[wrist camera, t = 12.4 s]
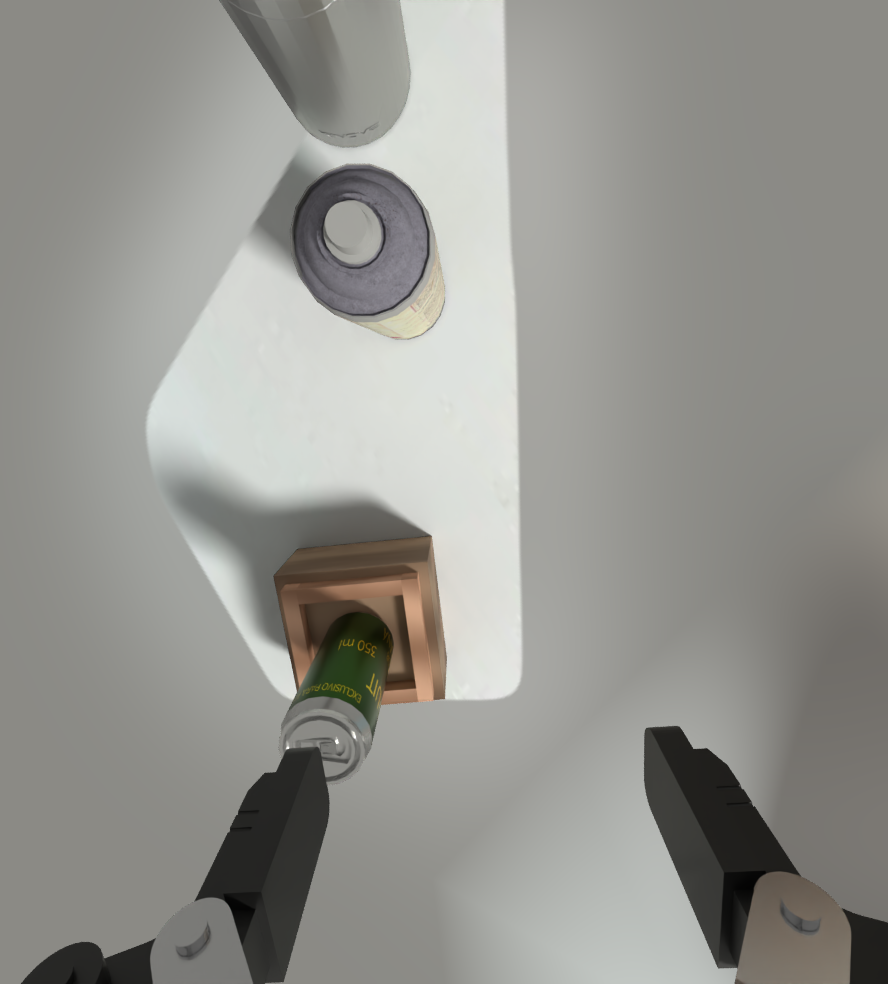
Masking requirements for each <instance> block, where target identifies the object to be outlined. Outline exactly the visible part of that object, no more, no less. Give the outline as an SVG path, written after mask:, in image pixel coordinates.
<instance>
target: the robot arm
mask: <svg viewBox="0 0 888 984" xmlns="http://www.w3.org/2000/svg"><path fill="white" fill-rule="evenodd" d="M219 1H220V2H221V3H222V5H223V7H224V8H225V9H226V11H227V13H228V14H229V16H230V17H231V19H232V20H233V22H234V23H235V25H236V26H237V28H238V29H239V31H240V33H241V34H242V36H243V37H244V39H245V40H246V42H247V43H248V45H249V46H250V48H251V49H252V51H253V52H254V54H255V55H256V57H257V59H258V60H259V61H260V63H261V64H262V66H263V68H264V69H265V70H266V72H267V74H268V75H269V77H270V78H271V80H272V81H273V83H274V85H275V86H276V88H277V89H278V91H279V92H280V94H281V95H282V97H283V98H284V100H285V102H286V103H287V105H288V106H289V108H290V109H291V111H292V112H293V114H294V115H295V117H296V118H297V120H298V121H299V122H300V123H301V124H302V125H303V126H304V128H305V129H306V130H307V131H308V132H310V133H311V134H312V135H313V136H315V137H316V138H317V139H319V140H321V141H323V142H325V143H327V144H330V145H334V146H338V147H358V146H362V145H366V144H369V143H371V142H373V141H375V140H377V139H378V138H380V137H381V136H383V135H384V134H385V133H386V132H387V131H388V130H389V129H391V127H392V126H393V125H394V123H395V122H396V121H397V119H398V118H399V116H400V114H401V112H402V110H403V108H404V106H405V104H406V100H407V96H408V92H409V88H410V64H409V55H408V49H407V43H406V37H405V31H404V24H403V17H402V11H401V5H400V0H219ZM644 738H645V739H644V745H645V746H644V782H645V789H646V795H647V799H648V803H649V806H650V808H651V811H652V814H653V816H654V818H655V821H656V823H657V825H658V828H659V830H660V833H661V835H662V837H663V839H664V842H665V844H666V847H667V849H668V851H669V854H670V856H671V858H672V861H673V863H674V865H675V868H676V870H677V873H678V875H679V877H680V880H681V882H682V884H683V886H684V889H685V891H686V894H687V896H688V898H689V901H690V903H691V906H692V908H693V910H694V912H695V915H696V917H697V920H698V922H699V924H700V927H701V929H702V931H703V934H704V936H705V938H706V941H707V943H708V946H709V948H710V950H711V953H712V955H713V957H714V960H715V962H716V965H717V967H718V968H737V969H738V970H737V974H736V979H735V984H888V923H887V922H884V921H880V920H876V919H872V918H868V917H864V916H861V915H857V914H855V913H852V912H849V911H847V910H845V909H842V908H841V907H840V906H839V905H838V904H837V902H836V901H835V900H834V899H833V898H832V897H831V896H830V895H829V894H828V893H827V892H826V891H824V890H823V889H822V888H821V887H819V886H818V885H816V884H815V883H813V882H811V881H809V880H807V879H805V878H803V877H801V875H800V874H799V873H798V871H797V870H796V868H795V867H794V865H793V864H792V862H791V861H790V859H789V858H788V856H787V855H786V853H785V852H784V850H783V849H782V847H781V846H780V844H779V843H778V841H777V840H776V838H775V837H774V835H773V834H772V832H771V831H770V829H769V827H768V826H767V824H766V823H765V821H764V820H763V818H762V817H761V815H760V814H759V812H758V811H757V809H756V808H755V806H754V807H753V805H752V802H751V800H750V799H749V797H748V796H747V794H746V792H745V791H744V790H743V789H742V788H741V785H740V783H739V782H738V780H737V779H736V777H735V776H734V774H733V773H732V771H731V770H730V768H729V767H728V765H727V764H726V763H724V762H723V761H722V760H721V759H719V758H718V757H717V756H716V755H715V754H713V753H712V752H711V751H710V750H708V749H707V748H705V749H693V747H692V746H691V744H690V742H689V741H688V739H687V737H686V736H685V734H684V732H683V731H682V729H681V728H680V727H678V726H668V727H652V728H646V730H645V737H644ZM328 817H329V793H328V788H327V783H326V777H325V772H324V767H323V762H322V756H321V752H320V749H319V748H318V747H304V748H289V749H287V750H286V751H285V753H284V755H283V758H282V760H281V762H280V765H279V767H278V769H277V771H276V772H273V773H264V774H263V775H262V776H261V778H260V779H259V780H258V781H257V782H256V783H255V784H254V785H253V786H252V787H251V788H250V789H249V790H248V792H247V794H246V796H245V798H244V800H243V802H242V805H241V807H240V809H239V811H238V815H236V817H235V819H234V821H233V823H232V825H231V827H230V832H229V833H227V836H226V838H225V840H224V842H223V844H222V846H221V848H220V850H219V852H218V854H217V856H216V858H215V860H214V862H213V865H212V867H211V869H210V871H209V873H208V875H207V877H206V879H205V882H204V883H203V885H202V887H201V890H200V891H199V894H198V896H197V898H196V899H195V901H194V902H192V903H190V904H188V905H187V906H185V907H184V908H182V909H181V910H180V911H178V912H177V913H176V914H175V915H173V916H172V917H171V918H170V919H169V920H168V922H167V923H166V924H165V925H164V927H163V928H162V929H161V931H160V932H159V934H158V935H157V937H156V938H155V939H153V940H151V941H149V942H147V943H144V944H142V945H139V946H136V947H134V948H131V949H128V950H126V951H123V952H121V953H118V954H115V955H113V956H110V957H107V958H105V959H104V957H103V954H102V952H101V949H100V948H99V947H98V946H97V945H96V944H94V943H90V942H80V943H75V944H72V945H69V946H67V947H65V948H63V949H60V950H59V951H57V952H55V953H54V954H52V955H51V956H49V957H48V958H47V959H45V960H44V961H43V962H41V963H40V964H39V965H38V966H37V967H36V968H35V969H34V970H33V971H32V972H31V973H30V974H29V975H28V976H27V977H26V978H25V979H24V981H23V982H22V983H21V984H265V983H271V982H284V978H285V975H286V971H287V968H288V964H289V961H290V957H291V953H292V950H293V946H294V943H295V939H296V935H297V932H298V928H299V925H300V921H301V917H302V914H303V910H304V907H305V902H306V899H307V896H308V892H309V889H310V885H311V882H312V878H313V874H314V871H315V867H316V864H317V860H318V856H319V853H320V849H321V846H322V842H323V838H324V835H325V831H326V828H327V824H328Z"/></svg>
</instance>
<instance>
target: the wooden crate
mask: <svg viewBox="0 0 888 984" xmlns="http://www.w3.org/2000/svg"><path fill="white" fill-rule="evenodd" d="M274 581H275V586H276V591H277V596H278V601H279V606H280V611H281V615H282V620H283V625H284V630H285V635H286V640H287V645H288V650H289V655H290V659H291V664H292V669H293V674H294V679H295V684H296V689H297V692H298V690H299V688H300V686H301V684H302V682H303V680H304V678H305V676H306V674H307V672H308V670H309V668H310V665H311V663H312V661H313V659H314V657H315V655H316V653H317V651H318V649H319V647H320V645H321V643H322V641H323V639H324V637H325V635H326V633H327V631H328V629H329V627H330V625H331V624H332V623H333V622H334V621H335V620H336V619H337V618H339V617H341V616H343V615H345V614H347V613H350V612H357V611H363V612H369V613H372V614H374V615H376V616H378V617H379V618H380V619H381V620H383V621H384V622H385V623H386V625H387V626H388V628H389V630H390V631H391V633H392V636H393V641H394V648H393V655H392V659H391V663H390V667H389V672H388V676H387V680H386V685H385V689H384V693H383V698H382V702H381V705H384V704H397V703H409V702H423V701H433V700H439V699H445V685H446V664H447V656H446V648H445V640H444V632H443V624H442V616H441V608H440V600H439V591H438V583H437V575H436V567H435V559H434V551H433V543H432V536H427V537H417V538H406V539H396V540H386V541H375V542H365V543H355V544H344V545H334V546H324V547H313V548H303V549H297V550H296V551H295V552H294V554H293V555H292V556H291V557H290V558H289V559H288V560H287V561H286V562H285V564H284V565H283V566H282V567H281V568H280V569H279V570H278V571H277V573H276V574H275V575H274Z"/></svg>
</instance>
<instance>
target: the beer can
mask: <svg viewBox="0 0 888 984" xmlns="http://www.w3.org/2000/svg"><path fill="white" fill-rule="evenodd" d="M393 648H394V641H393V636H392V633H391V631H390V630H389V628H388V626H387V625H386V623H385V622H384V621H383V620H381V619H380V618H379V617H378V616H376V615H374V614H372V613H369V612H363V611H357V612H350V613H347V614H345V615H343V616H341V617H339V618H337V619H336V620H335V621H334V622H333V623H332V624H331V625H330V627H329V629H328V631H327V633H326V635H325V637H324V639H323V641H322V643H321V645H320V647H319V649H318V651H317V653H316V655H315V657H314V659H313V661H312V663H311V665H310V668H309V670H308V672H307V674H306V676H305V678H304V680H303V682H302V684H301V686H300V688H299V690H298V692H297V694H296V696H295V698H294V700H293V702H292V704H291V706H290V708H289V710H288V712H287V714H286V716H285V718H284V720H283V722H282V725H281V736H280V737H279V752H280V755H281V759H282V758H283V755H284V753H285V751H286V750H287V749H289V748H304V747H318V748H319V749H320V752H321V756H322V762H323V767H324V772H325V777H326V783H327V785H333V784H339V783H341V782H344V781H346V780H348V779H350V778H351V777H352V776H353V775H354V774H355V773H357V772H358V771H359V769H360V767H361V765H362V763H363V761H364V760H365V758H366V757H367V755H368V753H369V751H370V749H371V745H372V741H373V736H374V732H375V727H376V724H377V719H378V715H379V710H380V706H381V702H382V698H383V693H384V689H385V685H386V680H387V676H388V672H389V667H390V663H391V659H392V655H393Z"/></svg>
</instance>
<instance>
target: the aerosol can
mask: <svg viewBox="0 0 888 984" xmlns="http://www.w3.org/2000/svg"><path fill="white" fill-rule="evenodd" d="M290 238H291V255H292V258H293V261H294V263H295V266H296V269H297V272H298V275H299V277H300V279H301V280H302V282H303V283H304V284H305V286H306V287H307V288H308V290H309V291H310V293H311V294H312V295H313V297H314V298H315V299H316V301H317V302H318V303H320V304H321V305H322V306H324V307H325V308H326V309H328V310H329V311H330V312H332V313H333V314H334V315H336V316H339V317H341V318H344V319H346V320H348V321H351V322H353V323H356V324H358V325H360V326H363V327H365V328H368V329H370V330H372V331H375V332H377V333H380V334H382V335H385V336H388V337H391V338H393V339H411V338H414V337H417V336H420V335H422V334H424V333H425V332H426V331H428V330H429V329H430V328H432V327H433V325H434V324H435V323H436V321H437V320H438V318H439V317H440V315H441V312H442V309H443V306H444V303H445V285H444V280H443V274H442V269H441V264H440V259H439V253H438V248H437V243H436V238H435V234H434V230H433V227H432V223H431V220H430V216H429V213H428V211H427V209H426V208H425V206H424V205H423V203H422V202H421V200H420V199H419V197H418V196H417V194H416V193H415V191H414V190H412V188H411V187H410V186H409V185H408V184H407V183H405V182H404V181H403V180H402V179H400V178H399V177H398V176H397V175H395V174H394V173H393V172H391V171H389V170H386V169H383V168H380V167H378V166H375V165H372V164H345V165H342V166H340V167H337V168H334V169H332V170H329V171H326V172H325V173H323V174H322V175H321V176H320V177H319V178H318V179H316V180H315V181H314V182H313V183H312V184H311V185H309V186H308V187H307V189H306V191H305V192H304V194H303V196H302V197H301V199H300V201H299V202H298V204H297V206H296V208H295V212H294V216H293V220H292V225H291V229H290Z"/></svg>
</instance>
